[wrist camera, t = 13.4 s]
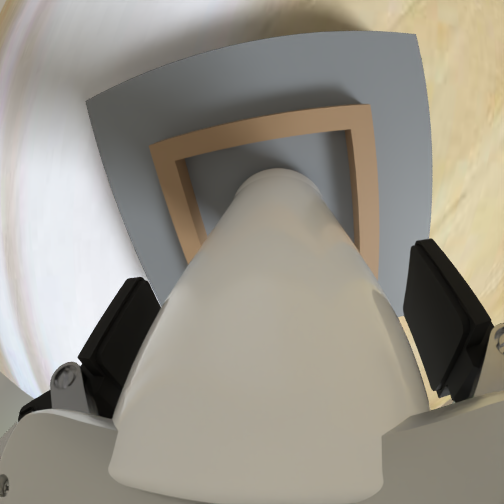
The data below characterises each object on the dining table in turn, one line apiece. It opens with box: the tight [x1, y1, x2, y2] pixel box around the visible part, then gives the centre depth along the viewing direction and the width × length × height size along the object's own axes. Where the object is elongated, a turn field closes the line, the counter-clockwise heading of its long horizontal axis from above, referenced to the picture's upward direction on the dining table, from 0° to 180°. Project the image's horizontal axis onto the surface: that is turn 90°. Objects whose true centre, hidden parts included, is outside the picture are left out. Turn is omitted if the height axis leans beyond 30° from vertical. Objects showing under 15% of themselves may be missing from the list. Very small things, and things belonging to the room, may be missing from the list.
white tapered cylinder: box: [108, 168, 431, 504], centre depth 10 cm, size 7×7×15 cm
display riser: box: [86, 31, 432, 317], centre depth 18 cm, size 20×20×6 cm
